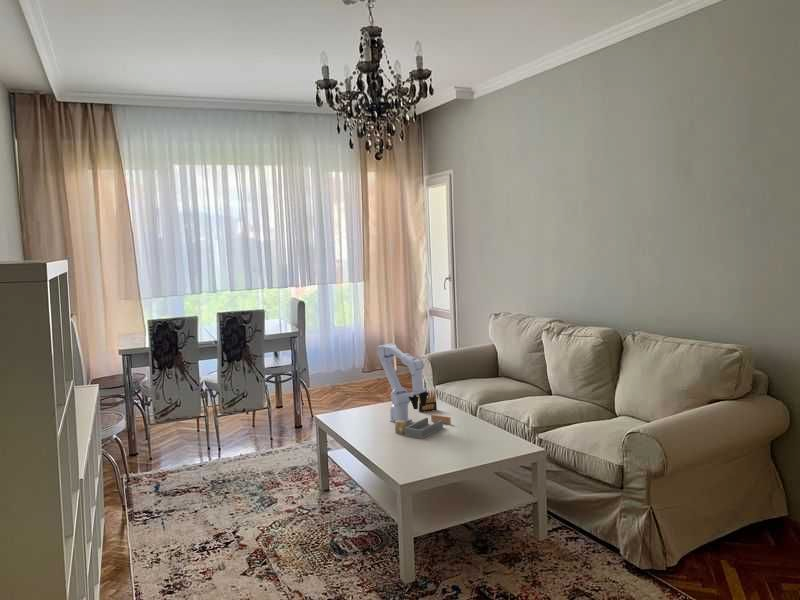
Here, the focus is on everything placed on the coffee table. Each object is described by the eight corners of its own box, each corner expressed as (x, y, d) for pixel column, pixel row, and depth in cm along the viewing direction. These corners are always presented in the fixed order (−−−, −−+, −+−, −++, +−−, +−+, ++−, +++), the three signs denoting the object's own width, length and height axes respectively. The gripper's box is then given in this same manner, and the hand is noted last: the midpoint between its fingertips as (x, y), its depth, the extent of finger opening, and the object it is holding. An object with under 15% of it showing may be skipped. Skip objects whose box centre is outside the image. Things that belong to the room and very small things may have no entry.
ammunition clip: (435, 409, 363) (435, 389, 362) (436, 410, 362) (436, 390, 360) (418, 411, 360) (418, 391, 359) (419, 412, 359) (418, 392, 358)
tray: (404, 435, 317) (404, 427, 317) (426, 424, 334) (426, 417, 334) (421, 438, 311) (421, 430, 311) (442, 427, 328) (442, 420, 328)
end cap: (431, 421, 339) (431, 414, 339) (432, 420, 340) (432, 414, 340) (449, 424, 333) (449, 417, 332) (450, 423, 334) (450, 417, 333)
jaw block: (395, 432, 322) (395, 421, 321) (399, 430, 325) (399, 419, 325) (401, 433, 320) (401, 422, 319) (406, 431, 323) (405, 420, 322)
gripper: (416, 385, 321) (418, 410, 322) (430, 380, 333) (433, 404, 334) (405, 384, 325) (407, 410, 326) (420, 379, 337) (422, 404, 338)
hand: (419, 407), depth 330 cm, fingers open, 7 cm apart
